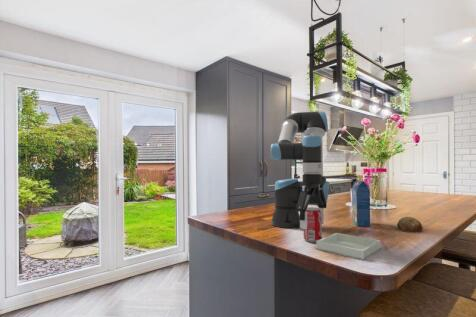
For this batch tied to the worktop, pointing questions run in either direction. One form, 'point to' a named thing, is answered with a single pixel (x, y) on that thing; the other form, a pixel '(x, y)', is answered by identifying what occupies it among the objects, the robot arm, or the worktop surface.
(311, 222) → the soda can
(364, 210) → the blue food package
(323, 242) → the tray
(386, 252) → the worktop surface
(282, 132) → the robot arm
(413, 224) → the bread roll
